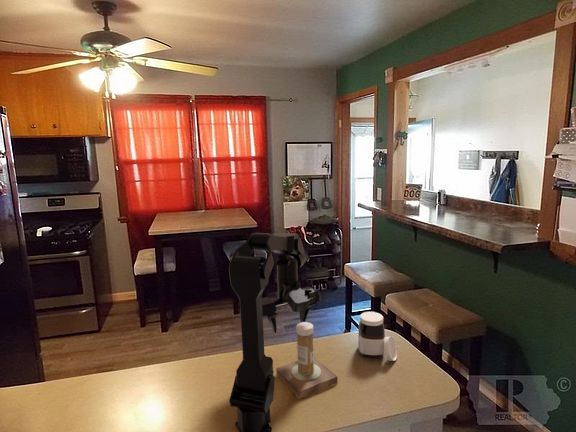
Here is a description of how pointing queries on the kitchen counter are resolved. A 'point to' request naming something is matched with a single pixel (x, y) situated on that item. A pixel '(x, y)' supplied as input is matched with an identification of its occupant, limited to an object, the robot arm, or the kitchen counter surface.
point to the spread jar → (375, 337)
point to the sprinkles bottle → (305, 348)
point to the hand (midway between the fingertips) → (288, 328)
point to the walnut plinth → (306, 378)
